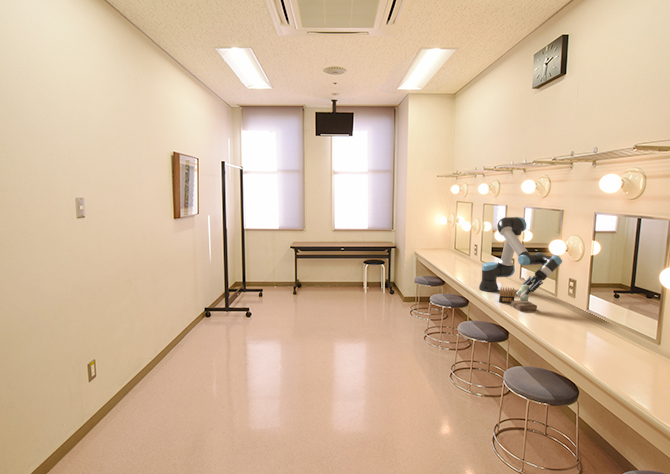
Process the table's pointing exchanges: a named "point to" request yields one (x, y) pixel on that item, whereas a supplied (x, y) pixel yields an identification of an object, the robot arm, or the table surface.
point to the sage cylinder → (523, 288)
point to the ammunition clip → (506, 295)
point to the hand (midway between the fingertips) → (519, 295)
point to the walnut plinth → (524, 305)
